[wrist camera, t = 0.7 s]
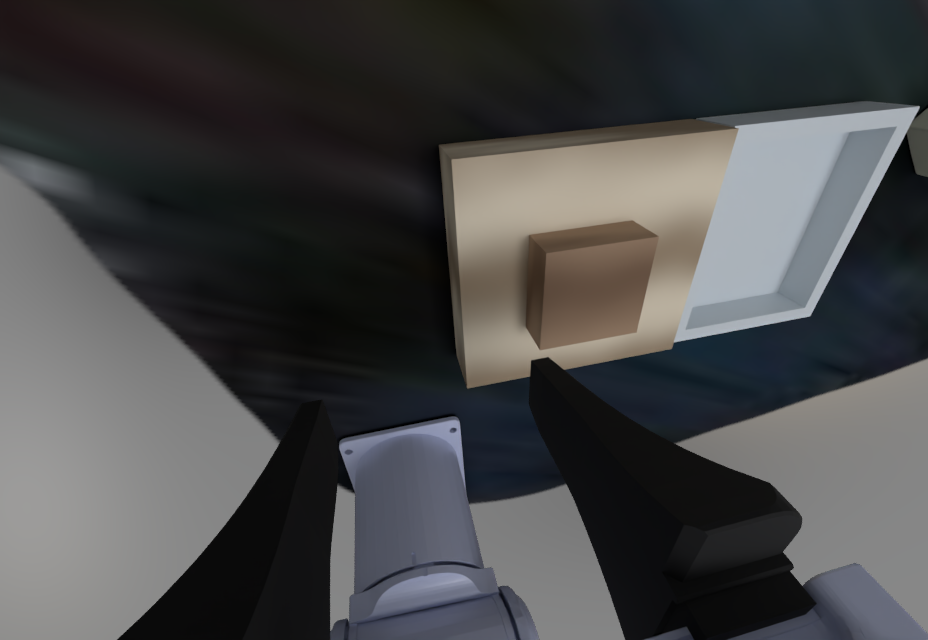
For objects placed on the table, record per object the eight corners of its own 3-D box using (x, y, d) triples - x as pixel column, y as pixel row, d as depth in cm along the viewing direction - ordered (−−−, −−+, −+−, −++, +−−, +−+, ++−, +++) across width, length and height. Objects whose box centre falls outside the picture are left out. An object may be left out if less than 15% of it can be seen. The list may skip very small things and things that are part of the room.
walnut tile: (615, 311, 21) (636, 332, 20) (525, 326, 20) (539, 350, 19) (632, 220, 18) (659, 236, 17) (529, 234, 18) (546, 253, 16)
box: (777, 296, 28) (810, 316, 26) (646, 320, 26) (670, 342, 24) (865, 101, 21) (920, 106, 19) (696, 118, 20) (734, 126, 17)
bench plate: (642, 321, 26) (671, 348, 24) (456, 354, 24) (467, 388, 22) (691, 118, 19) (738, 128, 17) (438, 144, 18) (451, 159, 15)
